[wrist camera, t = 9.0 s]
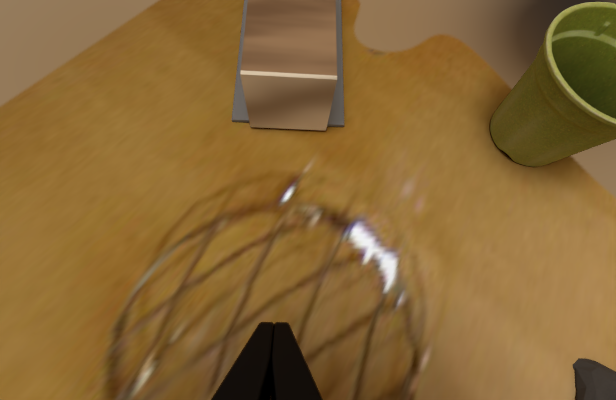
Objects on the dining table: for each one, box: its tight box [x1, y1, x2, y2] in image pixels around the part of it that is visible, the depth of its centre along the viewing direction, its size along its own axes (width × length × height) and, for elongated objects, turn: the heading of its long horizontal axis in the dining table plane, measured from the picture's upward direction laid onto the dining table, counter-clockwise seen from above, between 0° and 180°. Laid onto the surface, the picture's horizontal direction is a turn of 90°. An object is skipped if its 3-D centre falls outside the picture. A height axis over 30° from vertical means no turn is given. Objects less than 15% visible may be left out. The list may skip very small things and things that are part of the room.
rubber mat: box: [232, 0, 344, 127], centre depth 28 cm, size 14×9×1 cm, turn 179°
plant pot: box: [490, 2, 616, 167], centre depth 23 cm, size 9×9×9 cm
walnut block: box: [240, 0, 337, 131], centre depth 25 cm, size 6×6×14 cm
